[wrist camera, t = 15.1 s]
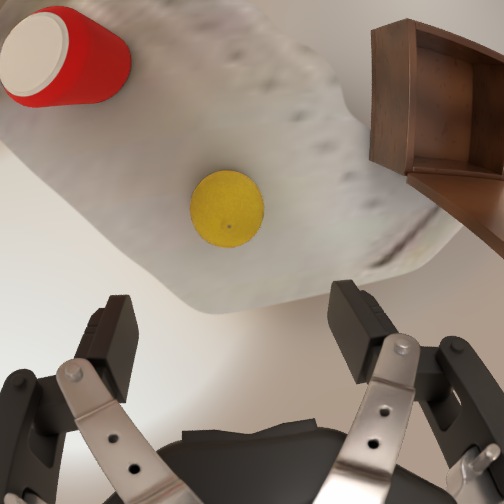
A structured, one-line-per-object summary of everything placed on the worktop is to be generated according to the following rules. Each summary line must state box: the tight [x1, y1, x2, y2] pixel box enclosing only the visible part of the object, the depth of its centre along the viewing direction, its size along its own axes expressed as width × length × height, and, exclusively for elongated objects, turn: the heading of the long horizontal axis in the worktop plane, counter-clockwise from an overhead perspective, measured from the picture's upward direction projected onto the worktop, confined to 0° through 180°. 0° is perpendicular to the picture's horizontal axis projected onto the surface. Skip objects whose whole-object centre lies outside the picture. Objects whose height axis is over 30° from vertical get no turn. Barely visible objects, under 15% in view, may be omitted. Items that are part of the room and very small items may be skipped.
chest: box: [369, 18, 504, 181], centre depth 23 cm, size 13×13×6 cm
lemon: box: [190, 170, 264, 248], centre depth 24 cm, size 6×6×8 cm
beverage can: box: [0, 6, 131, 108], centre depth 16 cm, size 6×6×12 cm
